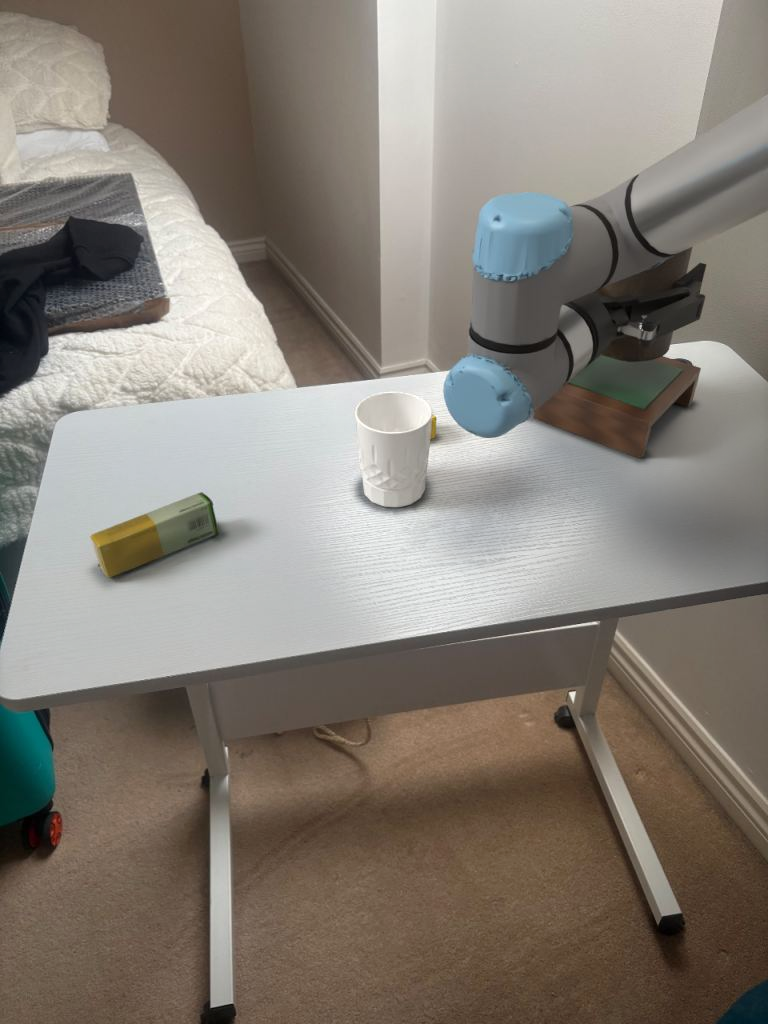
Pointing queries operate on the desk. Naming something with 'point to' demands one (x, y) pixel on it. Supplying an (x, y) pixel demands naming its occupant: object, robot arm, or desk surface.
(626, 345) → the pillar candle
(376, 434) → the white cup
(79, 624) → the desk surface
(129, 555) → the medication box
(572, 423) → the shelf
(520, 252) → the robot arm
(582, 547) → the desk surface
